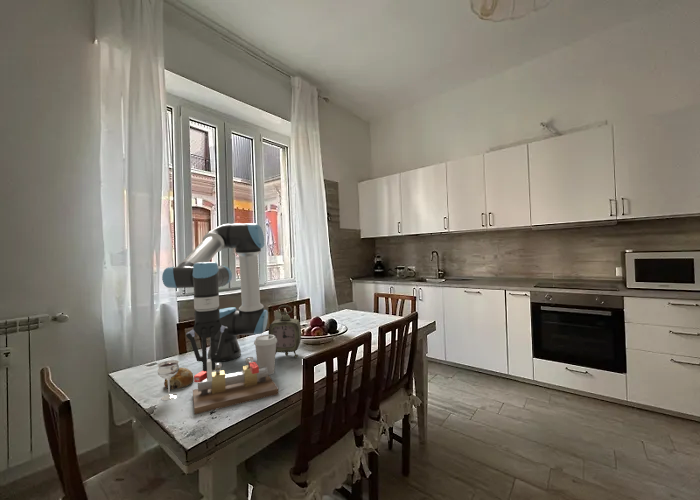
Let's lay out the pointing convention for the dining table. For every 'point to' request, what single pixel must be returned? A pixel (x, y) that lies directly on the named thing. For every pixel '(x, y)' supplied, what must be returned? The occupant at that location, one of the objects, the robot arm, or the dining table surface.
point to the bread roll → (180, 379)
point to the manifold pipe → (231, 379)
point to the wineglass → (168, 375)
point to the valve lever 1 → (205, 373)
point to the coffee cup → (266, 352)
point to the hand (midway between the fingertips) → (209, 380)
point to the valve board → (233, 395)
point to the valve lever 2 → (252, 365)
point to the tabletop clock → (286, 333)
